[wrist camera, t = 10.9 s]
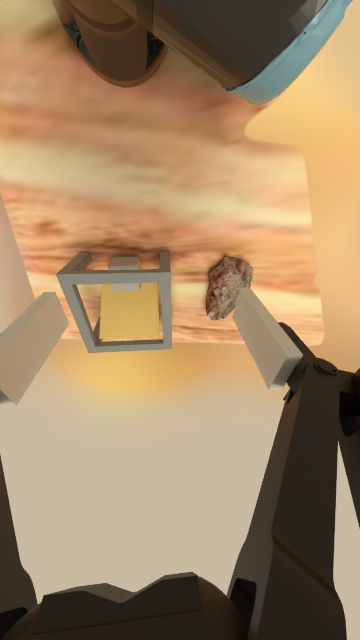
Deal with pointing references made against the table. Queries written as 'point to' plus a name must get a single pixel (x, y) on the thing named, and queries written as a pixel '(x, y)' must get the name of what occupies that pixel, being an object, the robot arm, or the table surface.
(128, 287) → the grey cube
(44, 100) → the table surface
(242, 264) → the rock
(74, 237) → the table surface
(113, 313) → the hatch
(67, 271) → the frame
